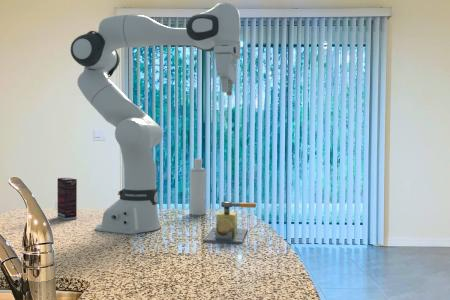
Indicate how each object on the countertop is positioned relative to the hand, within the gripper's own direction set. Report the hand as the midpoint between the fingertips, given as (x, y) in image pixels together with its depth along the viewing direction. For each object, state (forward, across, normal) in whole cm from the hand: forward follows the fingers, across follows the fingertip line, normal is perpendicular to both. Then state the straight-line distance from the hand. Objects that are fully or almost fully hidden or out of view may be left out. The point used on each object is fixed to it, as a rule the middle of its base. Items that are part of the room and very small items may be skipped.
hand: (227, 94), depth 132 cm
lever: (+37, +6, +5) cm, 38 cm away
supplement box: (+47, -11, -66) cm, 82 cm away
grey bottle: (+48, -30, -17) cm, 59 cm away
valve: (+47, +6, +1) cm, 48 cm away
